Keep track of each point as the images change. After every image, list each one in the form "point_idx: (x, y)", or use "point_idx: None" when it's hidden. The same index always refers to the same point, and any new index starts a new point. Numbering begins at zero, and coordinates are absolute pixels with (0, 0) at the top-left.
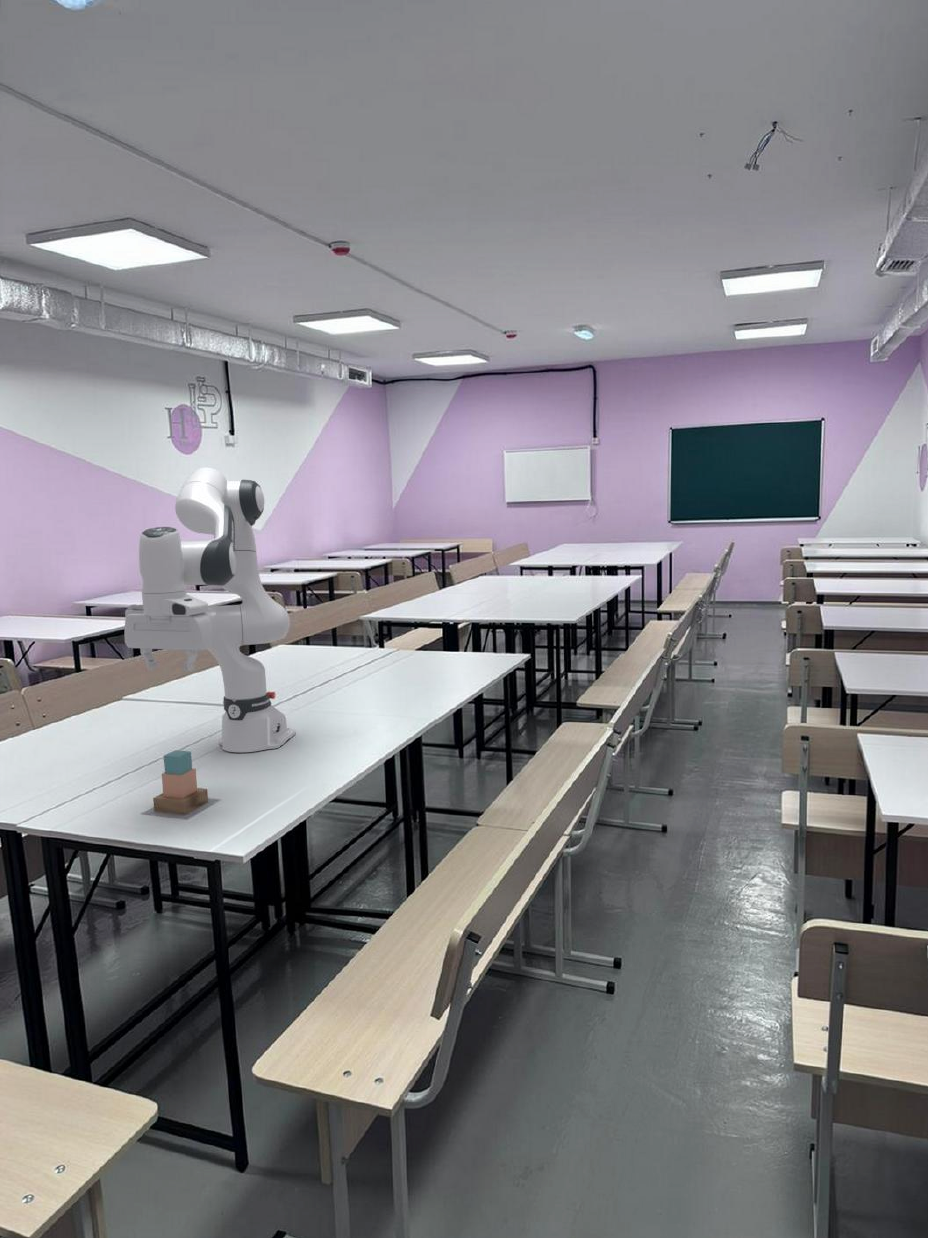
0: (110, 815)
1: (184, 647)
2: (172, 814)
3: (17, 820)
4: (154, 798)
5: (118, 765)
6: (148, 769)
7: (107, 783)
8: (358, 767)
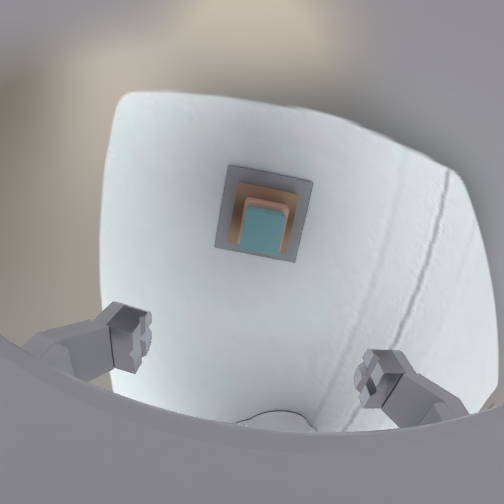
0: (360, 190)
1: (20, 361)
2: (261, 182)
3: (455, 177)
4: (296, 194)
5: (412, 361)
6: None
7: (409, 307)
8: None
